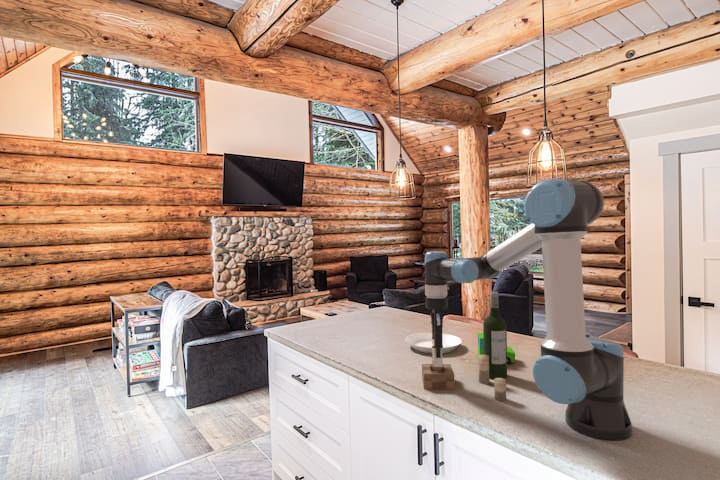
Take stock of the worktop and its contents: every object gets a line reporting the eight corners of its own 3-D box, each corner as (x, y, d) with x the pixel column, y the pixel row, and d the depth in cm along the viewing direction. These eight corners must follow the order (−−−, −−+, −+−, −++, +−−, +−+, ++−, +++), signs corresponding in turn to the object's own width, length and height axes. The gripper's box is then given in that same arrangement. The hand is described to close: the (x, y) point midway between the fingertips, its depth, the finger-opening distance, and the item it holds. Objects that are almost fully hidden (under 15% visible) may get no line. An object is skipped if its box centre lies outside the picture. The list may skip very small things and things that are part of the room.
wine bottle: (496, 370, 149) (495, 290, 148) (512, 377, 141) (511, 293, 141) (479, 373, 146) (478, 291, 145) (493, 381, 138) (492, 294, 138)
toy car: (516, 366, 153) (515, 340, 153) (480, 364, 156) (480, 339, 156) (511, 357, 163) (511, 333, 163) (478, 356, 166) (477, 332, 166)
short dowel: (507, 401, 122) (507, 382, 122) (496, 401, 122) (495, 381, 122) (504, 396, 125) (504, 377, 125) (493, 396, 126) (493, 377, 125)
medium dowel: (490, 383, 136) (489, 357, 136) (480, 383, 136) (479, 357, 136) (488, 380, 139) (487, 354, 139) (478, 380, 140) (477, 354, 139)
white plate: (402, 354, 171) (401, 346, 171) (409, 339, 195) (408, 331, 195) (462, 357, 165) (462, 349, 165) (461, 341, 189) (461, 333, 189)
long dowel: (443, 382, 135) (442, 341, 135) (433, 382, 136) (432, 341, 135) (442, 379, 139) (441, 339, 139) (432, 378, 139) (431, 339, 139)
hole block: (454, 389, 132) (454, 374, 132) (424, 388, 133) (423, 373, 133) (450, 378, 142) (450, 364, 142) (422, 377, 143) (421, 363, 143)
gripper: (450, 300, 128) (451, 373, 129) (444, 292, 144) (445, 357, 145) (427, 300, 129) (428, 372, 129) (423, 292, 145) (424, 356, 146)
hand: (437, 364), depth 137 cm, fingers closed on long dowel, 3 cm apart
